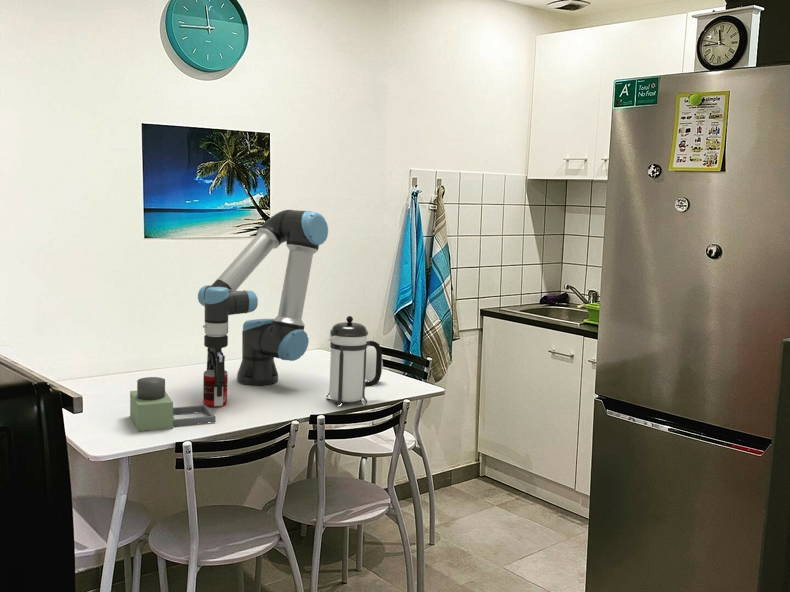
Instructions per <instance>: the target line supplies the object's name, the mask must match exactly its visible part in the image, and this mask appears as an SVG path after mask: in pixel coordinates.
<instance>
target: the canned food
mask: <svg viewBox="0 0 790 592" xmlns="http://www.w3.org/2000/svg"><path fill="white" fill-rule="evenodd" d="M219 383H220V382H219ZM213 385H215V375H214V370H207V369H206V370H205V371H204V372H203V388H202V389H203V391H202V392H203V393H202V394H203V399H202V400H203V401H202V402H203V405H207V407H208V408H221V407H225V406H226V405H227V403H228V371H227V370H225V386H223V406H214V387H213Z"/></svg>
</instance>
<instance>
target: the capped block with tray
mask: <svg viewBox="0 0 790 592" xmlns="http://www.w3.org/2000/svg"><path fill="white" fill-rule="evenodd" d="M136 381H137V384H136V390H130V391H129V393H130V394H129V402H130V403H129V405H130V406H129V411H130V412H129V413H130V414H129V415H130V419H131V418H132V419H131V421H132V423H133V425H134V426H135V429H136V432H138V431H141V432H146V431H145V430H151V431H156V430H155V429H162V430H165V429H164V428H172V429H174V427H173V426H176V427H183V426H182V425H187V426H191V425H190V424H197V425H201V424H200V423H208V422H217V421H216V415H215V414H214V413H213V412H212V410H211V409H210V407H207V405H204V404H202V405H201V404H200V405H190V406H189V405H188V406H179V407H178V406H177V407H174V402H173V400H172V399H171V397H170V396H169V394H168V393H167V391H166V379H165V378H163V377H158V376H149V377H141V378H138V379H137V380H136ZM194 412H199V413H204V415H205V414H206V415H207V416H206V415H205V416H194V417H186V418H185V417H184V418H175V417H174V415H173V414H176V415H186V414H185V413H187V414H195V413H194ZM183 413H184V414H183ZM198 423H199V424H198ZM208 424H209V423H208ZM153 429H154V430H153Z"/></svg>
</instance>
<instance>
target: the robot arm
mask: <svg viewBox="0 0 790 592" xmlns="http://www.w3.org/2000/svg"><path fill="white" fill-rule="evenodd" d="M328 236H329V227H328V223H327V221H326V217H324V216H323V215H322V214H321V213H319V212H316V211H311V210H298V209H297V210H296V209H285V210H282V211H278V212H277V213H275V214H274V215H272V216H271V217H269V218H268V219H267V220H266V221H265V222H264V223H263V224H261V225H260V227H259V228H258V229H257V230H256V235H255V236H254V238H253V239H252V240H251V241H250V242H249V243H248V244H247V245H246V247H244V248H243V250H242V251H240V253H239V255H237V257H236V258H235V259H233V261H232V262H231V263H230V264H229V265H228V266H227V268H226V269H225V270H224V271H223V272H222V273H221V274H220V276H218V277H217V279H216V280H215V281H214V282H213V283H212V284H210V285H204V286H202V287H201V288H199V290H198V292H197V293H198V294H197V301H198V303H199V304H200V305H201V306H203V307H204V324H203V325H202V329H203V328H204V334H205V335H204V336H203V337H204V338H203V340H204V341H203V345H204V347H206V348H207V349H206V350H207V356H206V360H207V361H206V371H207V370H214V375H215V385H213V387H214V406H222V407H224V406H223V386H225V371H226V369H225V359H226V357H225V354H224V353H223V351H222V349H223V348H227V347H228V345H229V336H228V334H229V316H232V315H240V314H248V313H253V312H254V311H256V309H257V308H258V305H259V299H258V297H257V294H256V293H255V292H254V291H252V290H247V289H246V290H245V289H244V290H239V288H240V287H241V285H242V284H243V283H244V282H245V281H246V280H247V279H248V278H249V276H250V275H251V274H252V273H253V272H254V271H255V269H257V267H259V265H260V264H261V263H262V262H263V260H264V259H266V257H267V256H268V255H269V254H270V253H271V251H272V250H274V249H278V248H279V246H281V245H282V244H283V243H285V242H286V243H285V245H286V247H287V249H288V250H289V251H288V252H289V253H288V257H287V263H286V269H285V274H284V279H283V284H282V291H281V296H280V301H279V302H280V303H279V307H278V312H277V313H278V314H277V316H276V317H274V318H257V319H248V320H246V321H244V322H243V324H242V333H241V335H242V337H241V338H242V339H241V340H242V343H241V344H242V345H241V346H242V348H241V352H242V353H241V354H242V359H241V363H240V365H239V368H238V371H237V373H236V381H237V382H238V383H240V384H243V385H248V386H265V385H266V386H267V384H268V385H272V383H273V384H275V382H276V383H278V381H279V373H278V369H277V367H276V363H275V358H276V359H280V360H282V361H290V362H293V361H297V360H299V359H301V357H302V356H304V354H305V353H306V351H307V350H308V347H309V339H310V338H309V337H308V336H309V335H308V333H307V332H306V331H305V326H306V324H305V323H304V322H303V319H302V318H303V313H304V307H305V300H306V296H307V291H308V284H309V279H310V274H311V268H312V263H313V257H314V256H313V255H314V254H316V253H317V252H318V251H319V248H320V246H321V245H323V244H324V243H325V241H327V239H328ZM219 382H220V383H219Z"/></svg>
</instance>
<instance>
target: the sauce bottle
mask: <svg viewBox="0 0 790 592" xmlns="http://www.w3.org/2000/svg"><path fill="white" fill-rule="evenodd" d="M372 341H374V342H375V336H372ZM383 366H384V362H383V361H382V368H381V375H382V372H383ZM375 374H376V349H375V347H374V346H367V349H366V371H365V381H366V382H367V381H372V380H373V379H374V377H375Z"/></svg>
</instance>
